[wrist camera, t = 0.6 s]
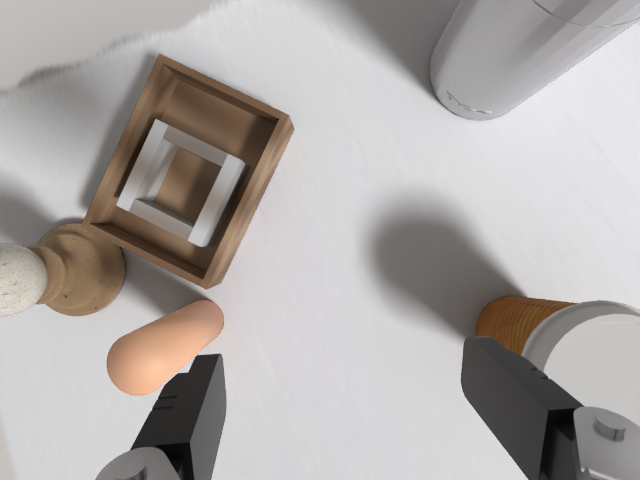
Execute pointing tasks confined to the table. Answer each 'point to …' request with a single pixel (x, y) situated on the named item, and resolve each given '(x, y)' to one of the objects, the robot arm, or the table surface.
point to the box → (188, 173)
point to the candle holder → (61, 273)
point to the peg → (162, 347)
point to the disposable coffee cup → (574, 346)
